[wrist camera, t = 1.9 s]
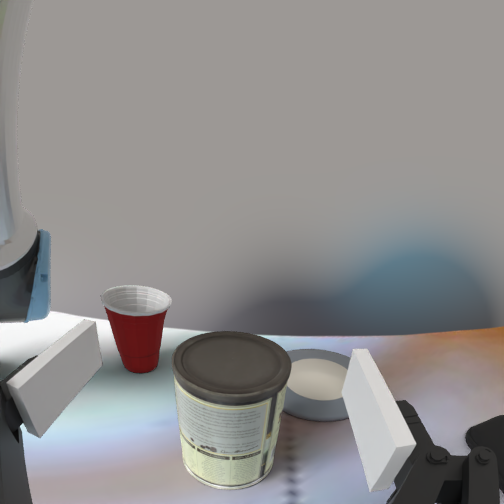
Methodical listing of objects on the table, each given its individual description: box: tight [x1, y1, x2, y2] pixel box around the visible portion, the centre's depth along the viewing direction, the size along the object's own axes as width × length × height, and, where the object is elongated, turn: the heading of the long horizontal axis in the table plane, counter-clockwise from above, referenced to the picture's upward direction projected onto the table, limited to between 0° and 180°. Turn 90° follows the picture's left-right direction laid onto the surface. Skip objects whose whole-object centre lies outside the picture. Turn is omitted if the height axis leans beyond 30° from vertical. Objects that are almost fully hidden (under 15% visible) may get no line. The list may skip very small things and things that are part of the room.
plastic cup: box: [101, 286, 172, 373], centre depth 43 cm, size 11×11×12 cm
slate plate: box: [283, 349, 351, 422], centre depth 43 cm, size 18×18×1 cm
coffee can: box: [172, 331, 292, 490], centre depth 26 cm, size 10×10×14 cm
